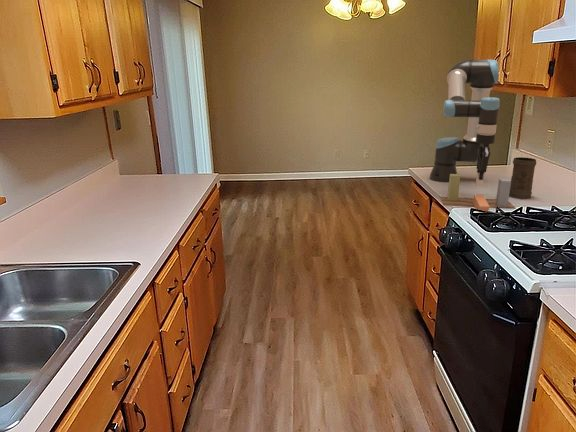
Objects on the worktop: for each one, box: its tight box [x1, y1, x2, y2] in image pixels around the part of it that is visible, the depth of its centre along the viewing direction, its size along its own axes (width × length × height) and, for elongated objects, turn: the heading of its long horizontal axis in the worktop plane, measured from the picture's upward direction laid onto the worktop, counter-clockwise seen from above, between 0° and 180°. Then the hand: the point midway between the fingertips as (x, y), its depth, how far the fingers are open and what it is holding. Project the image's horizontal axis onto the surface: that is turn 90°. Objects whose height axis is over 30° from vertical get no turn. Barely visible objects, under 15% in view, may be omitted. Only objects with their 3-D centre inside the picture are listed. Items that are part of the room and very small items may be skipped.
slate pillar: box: [495, 178, 511, 207], centre depth 204 cm, size 4×4×12 cm
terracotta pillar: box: [473, 194, 490, 213], centre depth 202 cm, size 4×4×12 cm
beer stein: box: [509, 157, 537, 200], centre depth 221 cm, size 15×11×20 cm
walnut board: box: [439, 196, 517, 210], centre depth 212 cm, size 15×31×1 cm, turn 80°
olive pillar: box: [446, 173, 461, 201], centre depth 214 cm, size 4×4×12 cm
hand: (479, 186), depth 208 cm, fingers closed
